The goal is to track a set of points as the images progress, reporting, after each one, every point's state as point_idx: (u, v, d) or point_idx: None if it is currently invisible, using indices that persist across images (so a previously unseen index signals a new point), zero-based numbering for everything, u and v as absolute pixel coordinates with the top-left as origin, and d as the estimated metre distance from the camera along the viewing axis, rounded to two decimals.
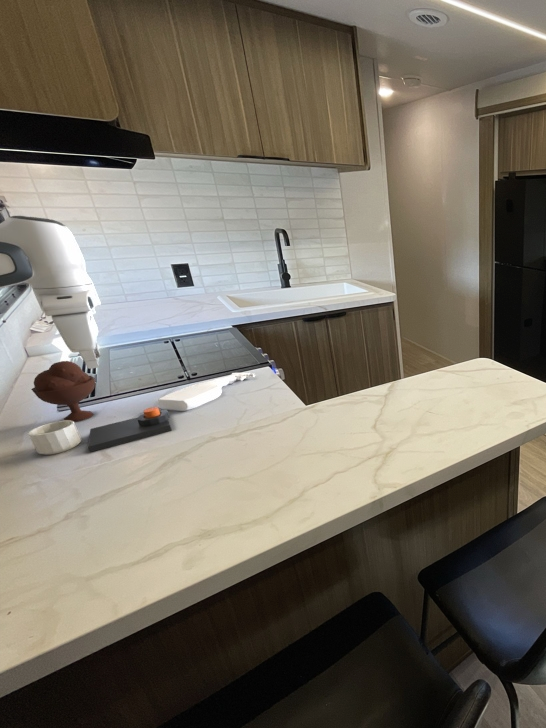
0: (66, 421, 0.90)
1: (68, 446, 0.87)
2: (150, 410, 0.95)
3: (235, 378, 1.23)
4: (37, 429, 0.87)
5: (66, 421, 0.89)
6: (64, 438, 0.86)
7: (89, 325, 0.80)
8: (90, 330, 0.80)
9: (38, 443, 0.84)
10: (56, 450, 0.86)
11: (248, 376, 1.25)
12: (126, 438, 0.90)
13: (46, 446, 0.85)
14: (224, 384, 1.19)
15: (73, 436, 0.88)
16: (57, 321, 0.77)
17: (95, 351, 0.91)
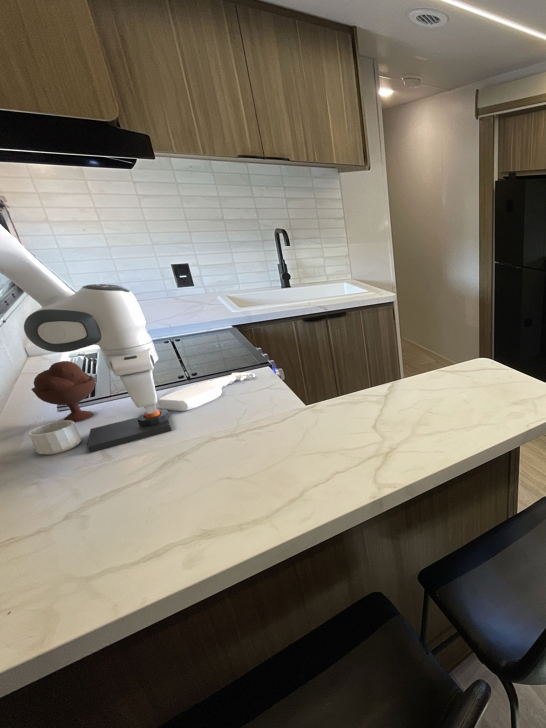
0: (66, 421, 0.90)
1: (68, 446, 0.87)
2: None
3: (235, 378, 1.23)
4: (37, 429, 0.87)
5: (66, 421, 0.89)
6: (64, 438, 0.86)
7: (152, 382, 0.87)
8: (153, 387, 0.87)
9: (38, 443, 0.84)
10: (56, 450, 0.86)
11: (248, 376, 1.25)
12: (126, 438, 0.90)
13: (46, 446, 0.85)
14: (224, 384, 1.19)
15: (73, 436, 0.88)
16: (125, 380, 0.84)
17: None
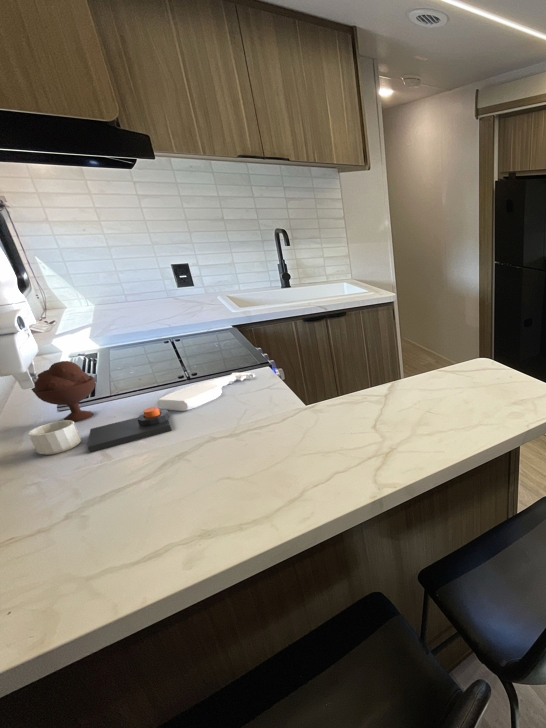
0: (66, 421, 0.90)
1: (68, 446, 0.87)
2: (150, 410, 0.95)
3: (235, 378, 1.23)
4: (37, 429, 0.87)
5: (66, 421, 0.89)
6: (64, 438, 0.86)
7: (17, 347, 0.74)
8: (19, 352, 0.74)
9: (38, 443, 0.84)
10: (56, 450, 0.86)
11: (248, 376, 1.25)
12: (126, 438, 0.90)
13: (46, 446, 0.85)
14: (224, 384, 1.19)
15: (73, 436, 0.88)
16: None
17: (31, 375, 0.84)
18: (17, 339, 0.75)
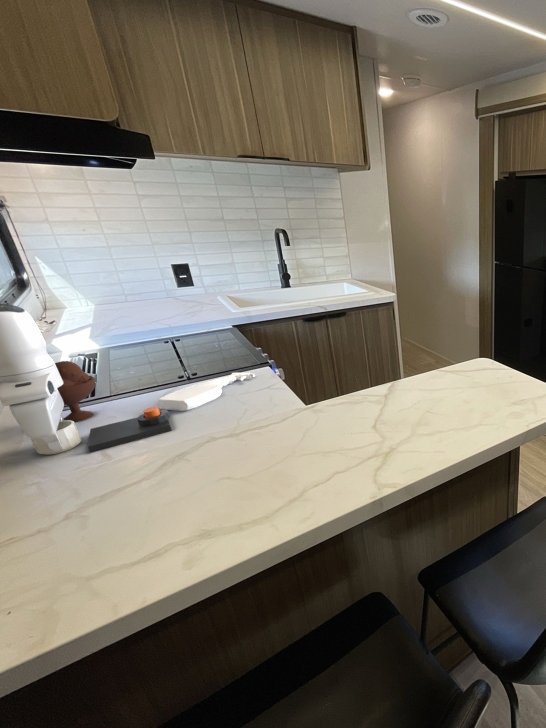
0: (66, 421, 0.90)
1: (68, 446, 0.87)
2: (150, 410, 0.95)
3: (235, 378, 1.23)
4: None
5: (66, 421, 0.90)
6: (64, 438, 0.86)
7: (48, 411, 0.79)
8: (49, 416, 0.79)
9: (38, 443, 0.84)
10: (56, 450, 0.86)
11: (248, 376, 1.25)
12: (126, 438, 0.90)
13: (46, 446, 0.85)
14: (224, 384, 1.19)
15: (73, 436, 0.88)
16: (15, 411, 0.76)
17: None
18: (48, 404, 0.79)
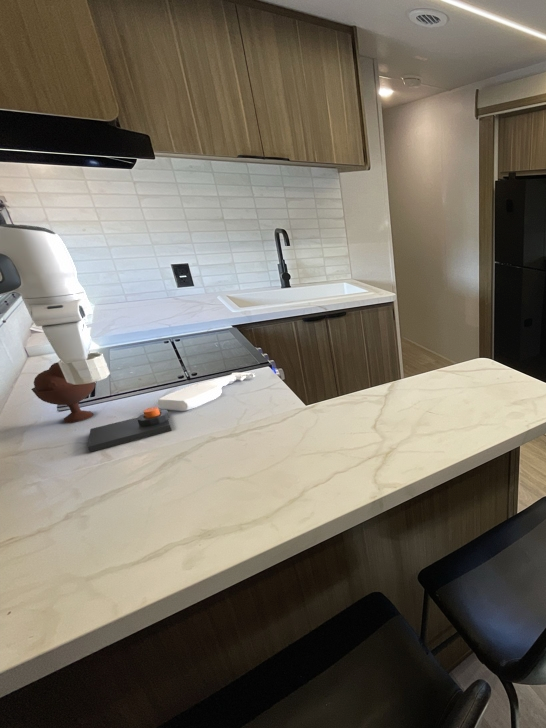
0: (95, 354, 0.89)
1: (98, 377, 0.86)
2: (150, 410, 0.95)
3: (235, 378, 1.23)
4: None
5: (95, 354, 0.89)
6: (94, 368, 0.85)
7: (80, 335, 0.78)
8: (82, 340, 0.78)
9: (68, 371, 0.83)
10: (86, 380, 0.85)
11: (248, 376, 1.25)
12: (126, 438, 0.90)
13: (76, 375, 0.84)
14: (224, 384, 1.19)
15: (102, 367, 0.87)
16: (47, 331, 0.75)
17: None
18: (80, 327, 0.78)
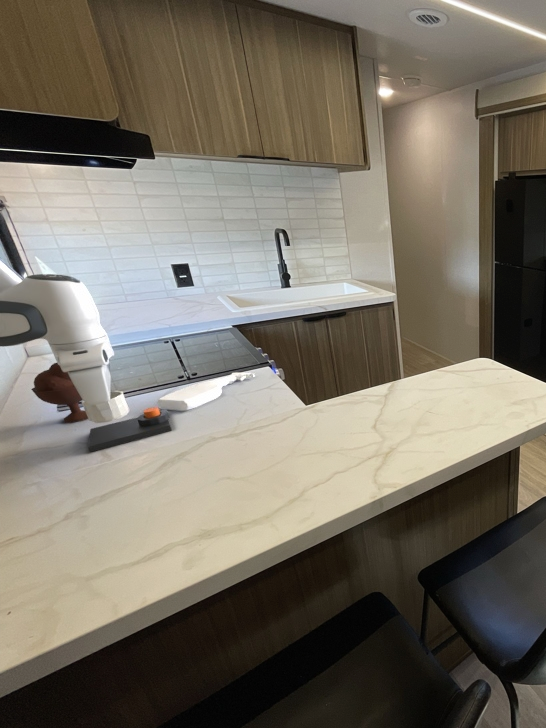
0: (115, 392, 0.92)
1: (119, 415, 0.90)
2: (150, 410, 0.95)
3: (235, 378, 1.23)
4: None
5: (115, 392, 0.92)
6: (115, 407, 0.89)
7: (104, 379, 0.82)
8: (105, 383, 0.82)
9: (91, 411, 0.87)
10: (108, 418, 0.88)
11: (248, 376, 1.25)
12: (126, 438, 0.90)
13: (99, 414, 0.87)
14: (224, 384, 1.19)
15: (123, 406, 0.91)
16: (74, 377, 0.79)
17: None
18: (103, 371, 0.82)
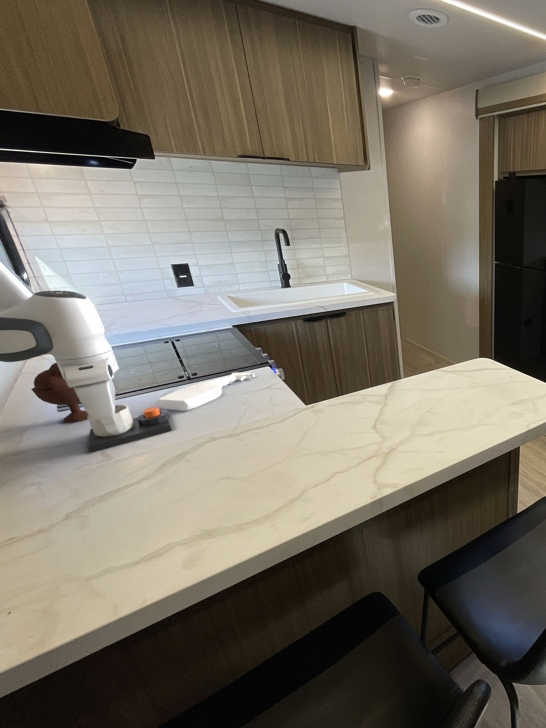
0: (120, 405, 0.94)
1: (124, 429, 0.91)
2: (150, 410, 0.95)
3: (235, 378, 1.23)
4: None
5: (120, 406, 0.94)
6: (120, 421, 0.90)
7: (109, 394, 0.83)
8: (110, 398, 0.83)
9: (97, 425, 0.88)
10: (113, 432, 0.90)
11: (248, 376, 1.25)
12: (126, 438, 0.90)
13: (104, 428, 0.89)
14: (224, 384, 1.19)
15: (128, 419, 0.92)
16: (79, 392, 0.80)
17: None
18: (109, 386, 0.83)
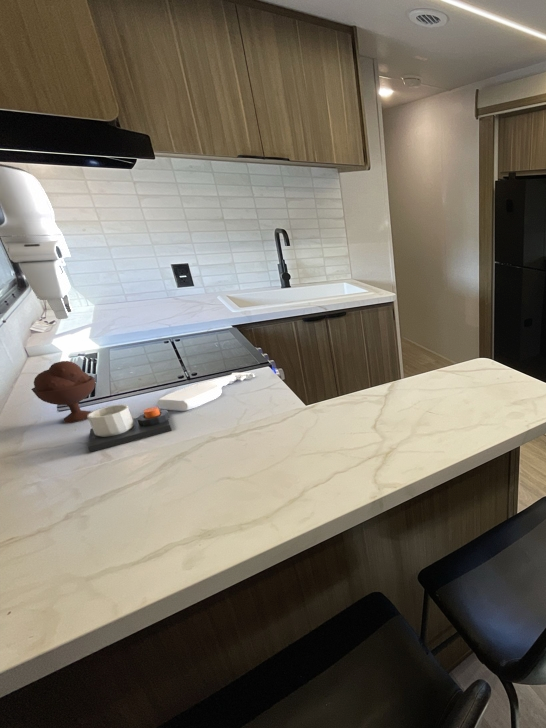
0: (120, 405, 0.94)
1: (124, 429, 0.91)
2: (150, 410, 0.95)
3: (235, 378, 1.23)
4: (94, 412, 0.91)
5: (120, 406, 0.94)
6: (120, 421, 0.90)
7: (57, 273, 0.81)
8: (58, 278, 0.81)
9: (97, 425, 0.88)
10: (113, 432, 0.90)
11: (248, 376, 1.25)
12: (126, 438, 0.90)
13: (104, 428, 0.89)
14: (224, 384, 1.19)
15: (128, 419, 0.92)
16: (24, 267, 0.78)
17: (66, 305, 0.92)
18: (56, 266, 0.81)
